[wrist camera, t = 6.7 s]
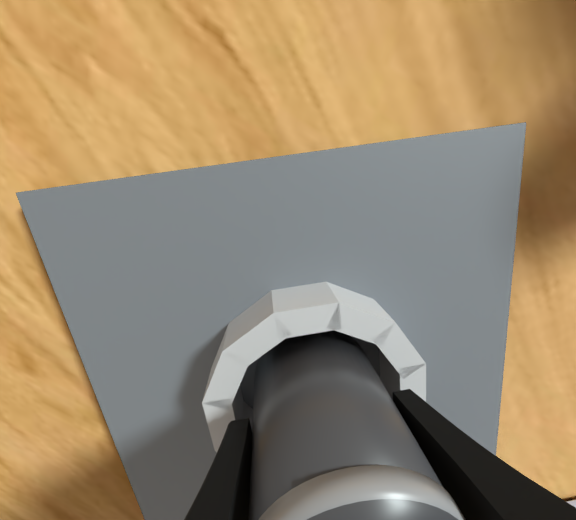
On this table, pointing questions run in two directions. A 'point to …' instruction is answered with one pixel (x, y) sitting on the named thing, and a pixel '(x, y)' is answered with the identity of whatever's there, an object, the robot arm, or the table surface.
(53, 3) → the table surface
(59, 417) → the table surface
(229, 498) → the robot arm
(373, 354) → the plate
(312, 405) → the lens
